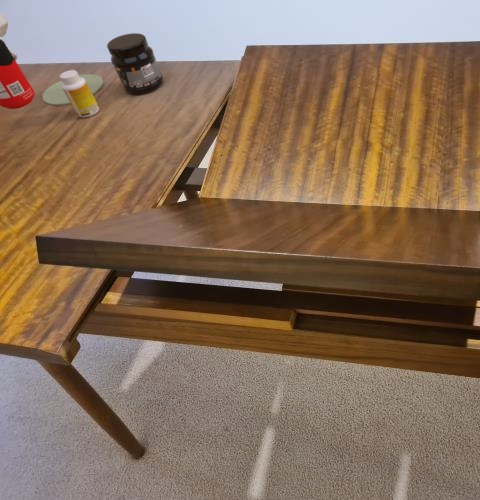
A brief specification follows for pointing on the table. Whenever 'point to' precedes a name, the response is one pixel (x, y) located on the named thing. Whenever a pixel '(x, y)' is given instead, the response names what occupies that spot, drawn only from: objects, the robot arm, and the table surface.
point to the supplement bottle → (79, 94)
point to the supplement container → (135, 63)
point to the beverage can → (13, 82)
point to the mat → (58, 97)
